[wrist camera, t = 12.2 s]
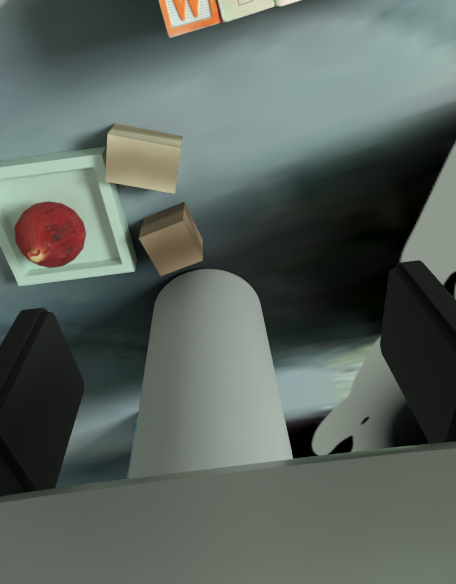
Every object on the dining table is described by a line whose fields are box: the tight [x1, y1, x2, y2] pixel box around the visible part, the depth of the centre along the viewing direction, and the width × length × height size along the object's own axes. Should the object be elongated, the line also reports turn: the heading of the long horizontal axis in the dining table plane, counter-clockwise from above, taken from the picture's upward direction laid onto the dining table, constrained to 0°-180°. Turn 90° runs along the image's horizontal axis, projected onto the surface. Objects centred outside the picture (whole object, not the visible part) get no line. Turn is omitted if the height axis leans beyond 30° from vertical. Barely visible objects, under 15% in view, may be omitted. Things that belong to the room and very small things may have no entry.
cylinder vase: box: [129, 269, 293, 479], centre depth 39 cm, size 12×12×25 cm
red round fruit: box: [15, 201, 86, 268], centre depth 37 cm, size 6×6×8 cm
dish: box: [0, 146, 137, 286], centre depth 41 cm, size 12×12×2 cm
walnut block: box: [139, 202, 203, 276], centre depth 41 cm, size 4×4×4 cm
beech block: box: [105, 123, 182, 194], centre depth 37 cm, size 4×6×4 cm, turn 78°
